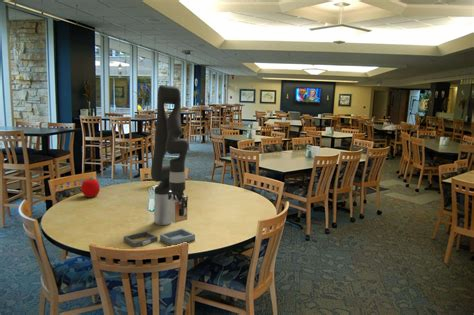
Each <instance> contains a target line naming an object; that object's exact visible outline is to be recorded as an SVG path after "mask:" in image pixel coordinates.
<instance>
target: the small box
mask: <svg viewBox="0 0 474 315" xmlns="http://www.w3.org/2000/svg"><path fill="white" fill-rule="evenodd" d="M179 202H182V200H181V201H179ZM181 205H182V203H181ZM184 205H185V204H184ZM179 209H180V208H179V204H178V201H176V200H175V199H171V200H168V221H170V222H172V224H177V223H179V222H180V223H181V222H184V221H187V220H188V207H187V208H184V215H183V216H179Z"/></svg>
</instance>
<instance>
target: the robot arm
mask: <svg viewBox="0 0 474 315" xmlns="http://www.w3.org/2000/svg"><path fill="white" fill-rule="evenodd" d="M156 103H157V105H156V124H155V131H154V132H155V134H154V147H153V148H154V149H153V155H152V156H153V157H152V161H151V167H150V168H151V169H150V176H151V179H152V181H154V182H156V183H157V182H159V181H161V183H160V184H158V185H157V186H155V187H154V191H153V192H154V205H153V206H154V207H153V209H154V210H153V212H154V215H153V216H154V217H153V218H154V220H153V221H154V223H155V225H158V226H167V225H171V224H173V222H170V221H168V200H171V199H175V200H176V201H178V204H179V208H180V209H179V216H183V215H184V208H187V209H188V200H189V196H188V195H185V194H184V192H185V191H186V172H185V170H186V157H187V154H188V151H189V141H188V140H187V139H186V138H181V137H182V136H183V127H182V120H181V114H182V113H181V110H182V109H181V107H182V102H181V91H180V88H179V87H178V86H176V85H165V84H160V85H159V86H158V88H157V102H156ZM165 104H166V105H167V104H168V105H173V108H172V111H171V112H170V113H169V115H167V113H166V110H165ZM166 153H168V154H170V155H176V154H179V155H178V156H179V157H177V158H174V159H171V160H170V164H169V163H164V164H163V158H164V156H166ZM181 200H182V202H179V201H181ZM181 203H182V205H181ZM184 204H185V205H184Z"/></svg>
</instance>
